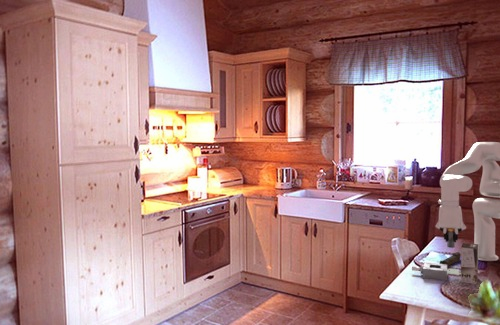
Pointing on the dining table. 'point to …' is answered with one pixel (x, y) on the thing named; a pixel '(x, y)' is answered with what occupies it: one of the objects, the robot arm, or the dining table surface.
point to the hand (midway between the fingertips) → (450, 241)
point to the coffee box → (469, 263)
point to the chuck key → (450, 238)
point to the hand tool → (451, 259)
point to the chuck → (433, 271)
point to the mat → (453, 271)
